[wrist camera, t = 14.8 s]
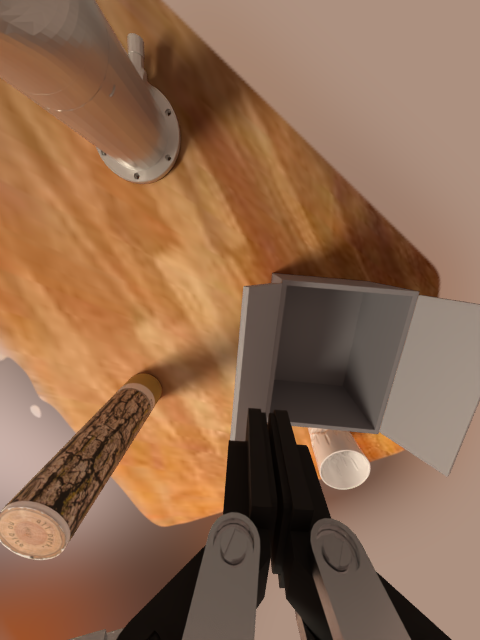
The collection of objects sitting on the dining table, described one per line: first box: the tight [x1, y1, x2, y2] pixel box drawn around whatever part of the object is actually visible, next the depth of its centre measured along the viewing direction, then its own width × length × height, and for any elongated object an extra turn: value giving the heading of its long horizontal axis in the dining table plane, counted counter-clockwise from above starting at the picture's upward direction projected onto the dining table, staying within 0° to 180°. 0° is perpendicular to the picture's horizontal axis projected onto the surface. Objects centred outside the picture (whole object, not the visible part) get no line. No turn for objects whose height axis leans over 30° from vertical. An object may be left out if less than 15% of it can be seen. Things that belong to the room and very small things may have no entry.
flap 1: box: [230, 283, 282, 441], centre depth 27 cm, size 8×19×1 cm
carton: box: [265, 273, 419, 434], centre depth 36 cm, size 20×16×12 cm
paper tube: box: [0, 373, 162, 560], centre depth 33 cm, size 7×7×25 cm
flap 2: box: [379, 295, 480, 476], centre depth 27 cm, size 8×19×1 cm
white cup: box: [308, 427, 370, 489], centre depth 41 cm, size 8×8×10 cm
